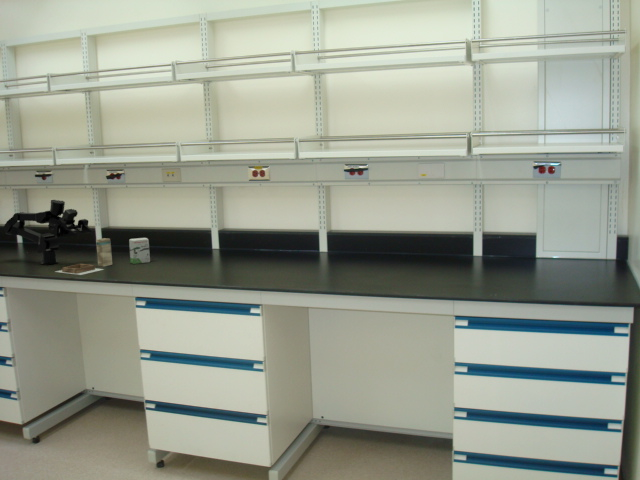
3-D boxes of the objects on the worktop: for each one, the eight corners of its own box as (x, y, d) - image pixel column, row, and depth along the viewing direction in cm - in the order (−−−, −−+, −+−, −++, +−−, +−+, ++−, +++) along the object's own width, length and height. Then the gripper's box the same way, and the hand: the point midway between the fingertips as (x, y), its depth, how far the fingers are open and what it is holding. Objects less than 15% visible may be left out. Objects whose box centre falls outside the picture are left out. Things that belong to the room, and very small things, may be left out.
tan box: (98, 266, 281) (95, 239, 279) (106, 264, 286) (104, 238, 284) (104, 267, 279) (101, 240, 277) (112, 265, 284) (110, 238, 282)
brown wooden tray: (62, 271, 268) (61, 267, 268) (80, 267, 277) (80, 263, 277) (76, 273, 264) (76, 269, 263) (95, 269, 272) (94, 265, 272)
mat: (54, 272, 270) (54, 271, 269) (78, 267, 281) (78, 266, 281) (81, 275, 261) (81, 274, 261) (104, 269, 272) (104, 269, 272)
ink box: (133, 264, 284) (131, 240, 283) (130, 262, 288) (128, 239, 287) (150, 262, 289) (149, 238, 287) (147, 260, 293) (145, 237, 291)
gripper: (46, 209, 274) (70, 219, 268) (77, 205, 291) (100, 214, 285) (43, 231, 277) (67, 242, 271) (74, 226, 294) (98, 236, 288)
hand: (84, 233), depth 279 cm, fingers open, 9 cm apart
